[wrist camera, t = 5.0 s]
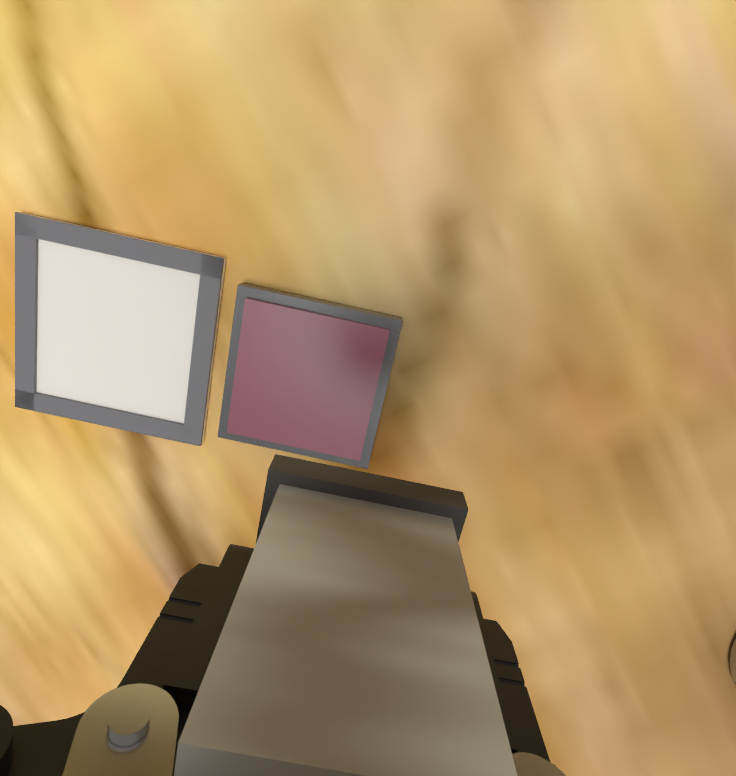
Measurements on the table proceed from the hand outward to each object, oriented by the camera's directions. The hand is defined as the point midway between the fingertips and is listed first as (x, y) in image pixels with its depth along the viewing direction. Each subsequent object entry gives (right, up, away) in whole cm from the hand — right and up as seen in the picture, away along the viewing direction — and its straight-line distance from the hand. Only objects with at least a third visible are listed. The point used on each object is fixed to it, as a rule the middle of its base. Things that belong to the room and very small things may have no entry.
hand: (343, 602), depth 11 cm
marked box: (-12, +7, +15) cm, 21 cm away
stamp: (0, 0, +2) cm, 2 cm away
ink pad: (-3, +5, +15) cm, 16 cm away
